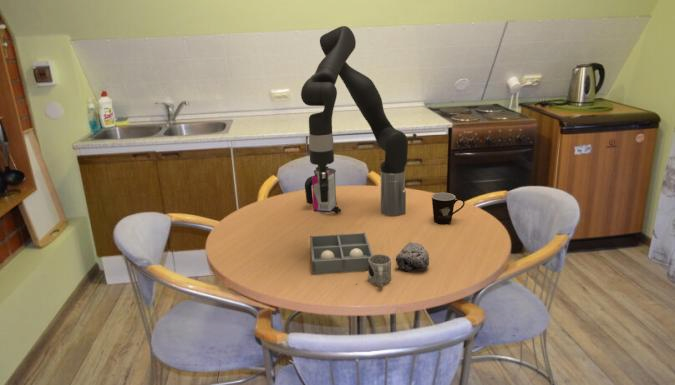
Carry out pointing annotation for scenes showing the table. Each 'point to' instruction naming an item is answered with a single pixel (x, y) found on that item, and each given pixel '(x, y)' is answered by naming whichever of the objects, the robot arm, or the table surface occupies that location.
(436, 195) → the coffee mug
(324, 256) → the egg front right
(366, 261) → the grey divided tray
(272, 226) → the table surface
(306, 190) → the milk frother
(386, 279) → the mug
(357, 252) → the egg front left
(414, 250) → the pumice stone
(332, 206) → the supplement box
